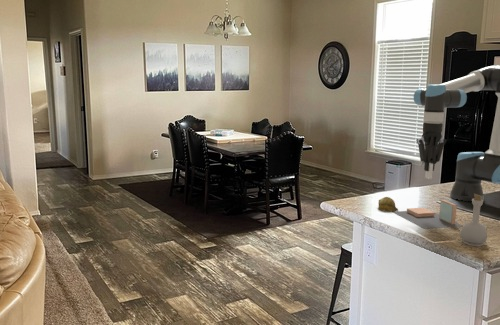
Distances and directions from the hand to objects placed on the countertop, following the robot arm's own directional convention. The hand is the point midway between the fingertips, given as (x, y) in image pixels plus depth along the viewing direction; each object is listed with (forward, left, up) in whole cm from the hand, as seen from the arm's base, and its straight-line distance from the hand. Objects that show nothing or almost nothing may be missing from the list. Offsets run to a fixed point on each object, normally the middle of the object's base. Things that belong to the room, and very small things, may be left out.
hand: (428, 178), depth 196 cm
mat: (+3, +6, -16) cm, 18 cm away
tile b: (-3, +11, -16) cm, 19 cm away
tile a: (-2, 0, -15) cm, 15 cm away
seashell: (+12, -11, -17) cm, 23 cm away
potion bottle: (+3, +34, -17) cm, 38 cm away
